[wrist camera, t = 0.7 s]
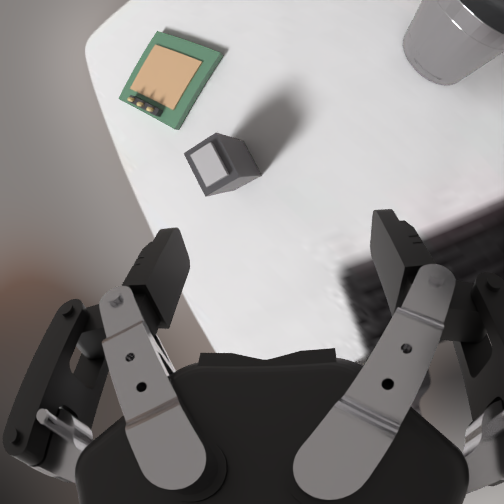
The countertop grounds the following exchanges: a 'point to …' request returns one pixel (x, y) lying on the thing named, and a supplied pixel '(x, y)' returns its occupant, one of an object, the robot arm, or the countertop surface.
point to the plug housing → (221, 164)
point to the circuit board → (169, 78)
